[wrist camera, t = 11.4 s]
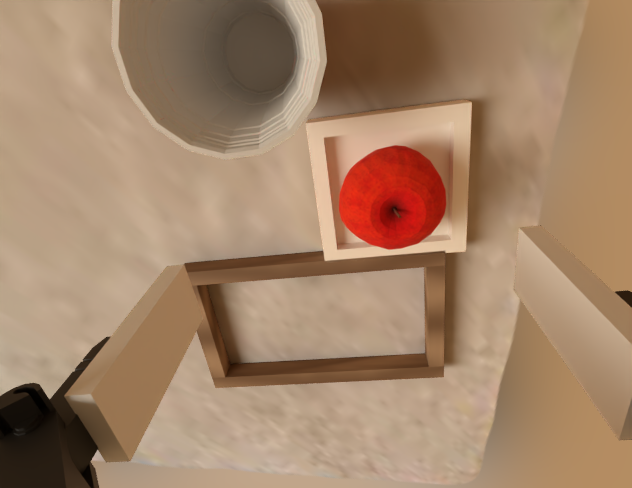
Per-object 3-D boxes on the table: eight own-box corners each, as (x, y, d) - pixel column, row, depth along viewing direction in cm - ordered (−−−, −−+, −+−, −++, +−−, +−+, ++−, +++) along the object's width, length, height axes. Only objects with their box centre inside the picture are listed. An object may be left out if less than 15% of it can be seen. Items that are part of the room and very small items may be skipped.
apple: (339, 226, 35) (337, 266, 28) (339, 137, 31) (338, 158, 25) (428, 227, 34) (448, 268, 28) (439, 136, 31) (465, 158, 24)
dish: (307, 119, 32) (305, 123, 30) (464, 99, 30) (471, 102, 29) (326, 253, 37) (325, 263, 35) (459, 241, 36) (465, 251, 34)
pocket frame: (185, 263, 39) (177, 273, 37) (440, 240, 36) (445, 250, 34) (220, 374, 45) (215, 387, 43) (439, 363, 42) (443, 377, 40)
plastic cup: (327, 130, 32) (319, 169, 21) (199, 121, 32) (128, 154, 22) (339, -26, 27) (335, -79, 17) (188, -36, 28) (89, -93, 17)
